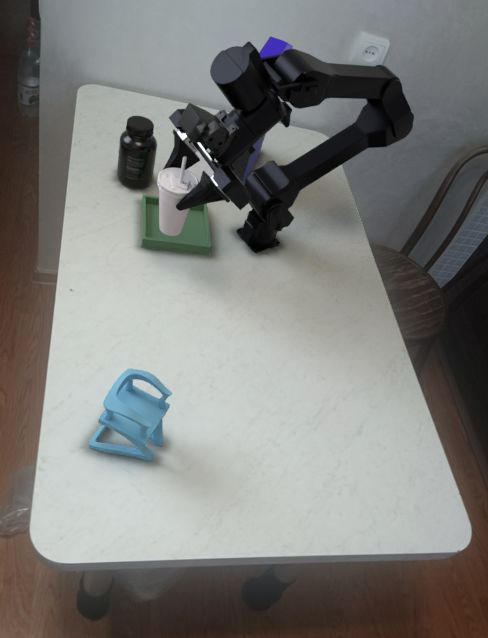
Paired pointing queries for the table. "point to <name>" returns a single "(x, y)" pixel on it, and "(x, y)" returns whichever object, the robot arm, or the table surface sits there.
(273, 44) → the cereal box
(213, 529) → the table surface
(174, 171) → the smoothie
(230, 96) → the robot arm
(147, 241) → the tray
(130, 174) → the supplement bottle
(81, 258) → the table surface
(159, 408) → the chair
